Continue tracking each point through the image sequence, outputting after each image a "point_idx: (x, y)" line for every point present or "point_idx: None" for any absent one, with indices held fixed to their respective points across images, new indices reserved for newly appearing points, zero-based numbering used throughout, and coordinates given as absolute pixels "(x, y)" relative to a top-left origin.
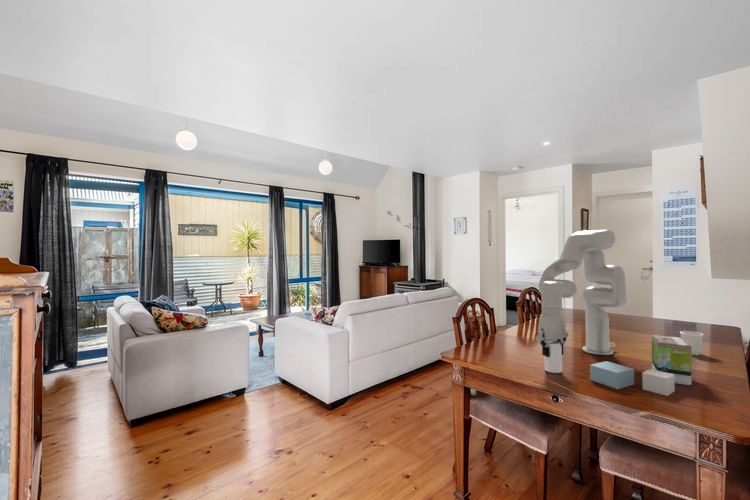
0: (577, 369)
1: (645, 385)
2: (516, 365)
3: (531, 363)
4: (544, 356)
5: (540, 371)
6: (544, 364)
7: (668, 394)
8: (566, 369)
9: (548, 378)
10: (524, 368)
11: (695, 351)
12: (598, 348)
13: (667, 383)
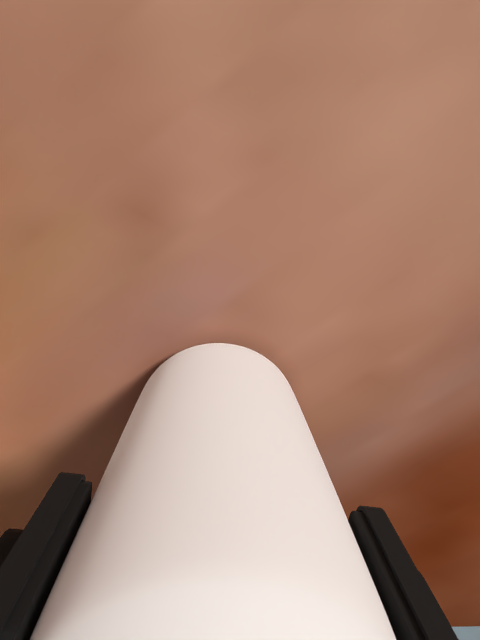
0: (460, 463)
1: None
2: (15, 63)
3: (253, 113)
4: (117, 452)
5: (111, 348)
6: (151, 385)
7: None
8: (382, 423)
9: (23, 495)
10: (25, 199)
11: None
12: None
13: None
